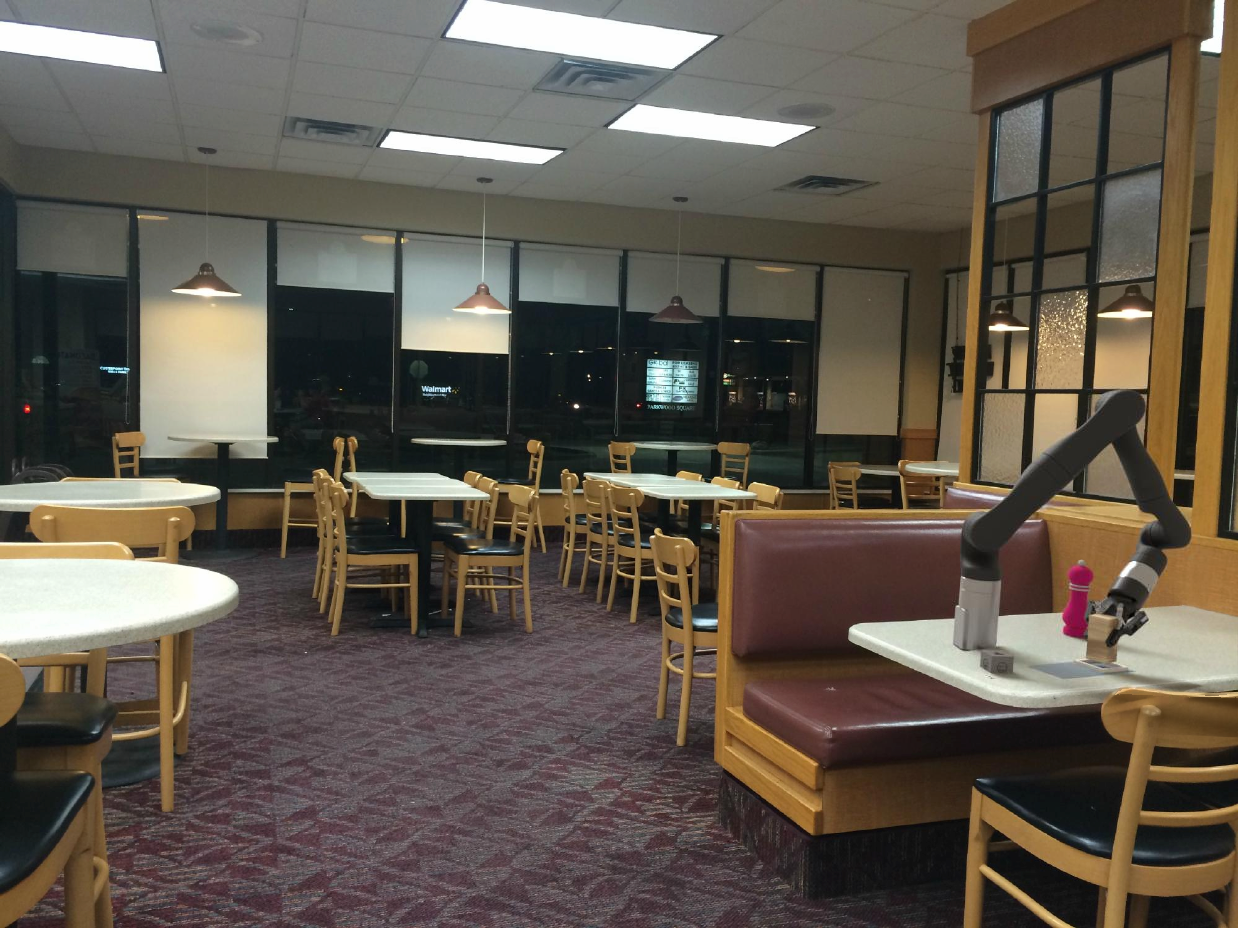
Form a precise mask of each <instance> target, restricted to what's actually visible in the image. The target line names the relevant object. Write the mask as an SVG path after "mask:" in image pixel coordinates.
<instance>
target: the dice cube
mask: <svg viewBox="0 0 1238 928" xmlns="http://www.w3.org/2000/svg"><path fill="white" fill-rule="evenodd" d="M1014 659H1015V657H1014V655H1012V654H1010V653H1009V652H1006V651H1005V650H1002V649H1001V650H1000V649H999V650H997V649H995V650H994V649H980V659H979V661H980V662H979V667H980V668H982V669H984V670H985V671H987V672H988V673H990V674H1013V673H1014V661H1015V660H1014ZM988 676H989V677H991V676H990V675H988ZM989 677H988V678H989Z"/></svg>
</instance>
